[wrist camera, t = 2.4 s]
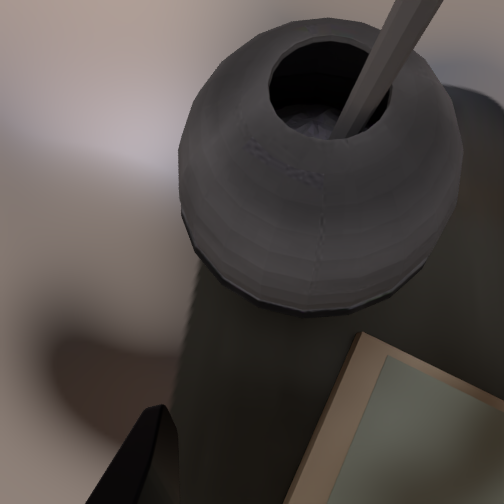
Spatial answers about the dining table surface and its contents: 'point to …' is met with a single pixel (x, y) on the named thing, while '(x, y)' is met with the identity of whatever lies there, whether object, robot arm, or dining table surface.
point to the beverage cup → (321, 164)
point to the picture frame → (402, 436)
